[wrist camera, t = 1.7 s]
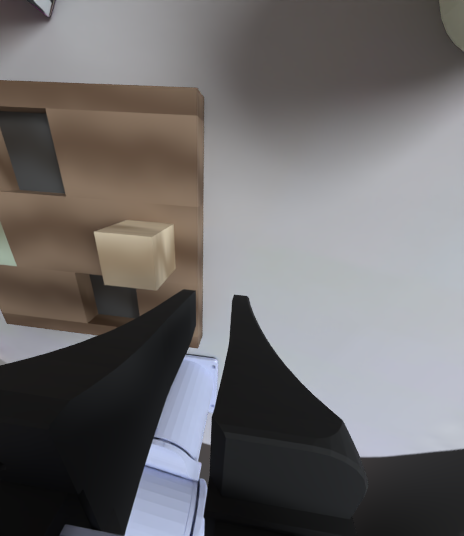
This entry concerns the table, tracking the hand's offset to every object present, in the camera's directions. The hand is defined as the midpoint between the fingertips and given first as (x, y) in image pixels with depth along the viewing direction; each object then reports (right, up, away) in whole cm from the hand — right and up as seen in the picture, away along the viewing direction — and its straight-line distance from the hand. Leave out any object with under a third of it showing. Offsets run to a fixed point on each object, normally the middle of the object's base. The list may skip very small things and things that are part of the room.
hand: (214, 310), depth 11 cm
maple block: (-6, +4, +8) cm, 11 cm away
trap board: (-13, +5, +11) cm, 17 cm away
